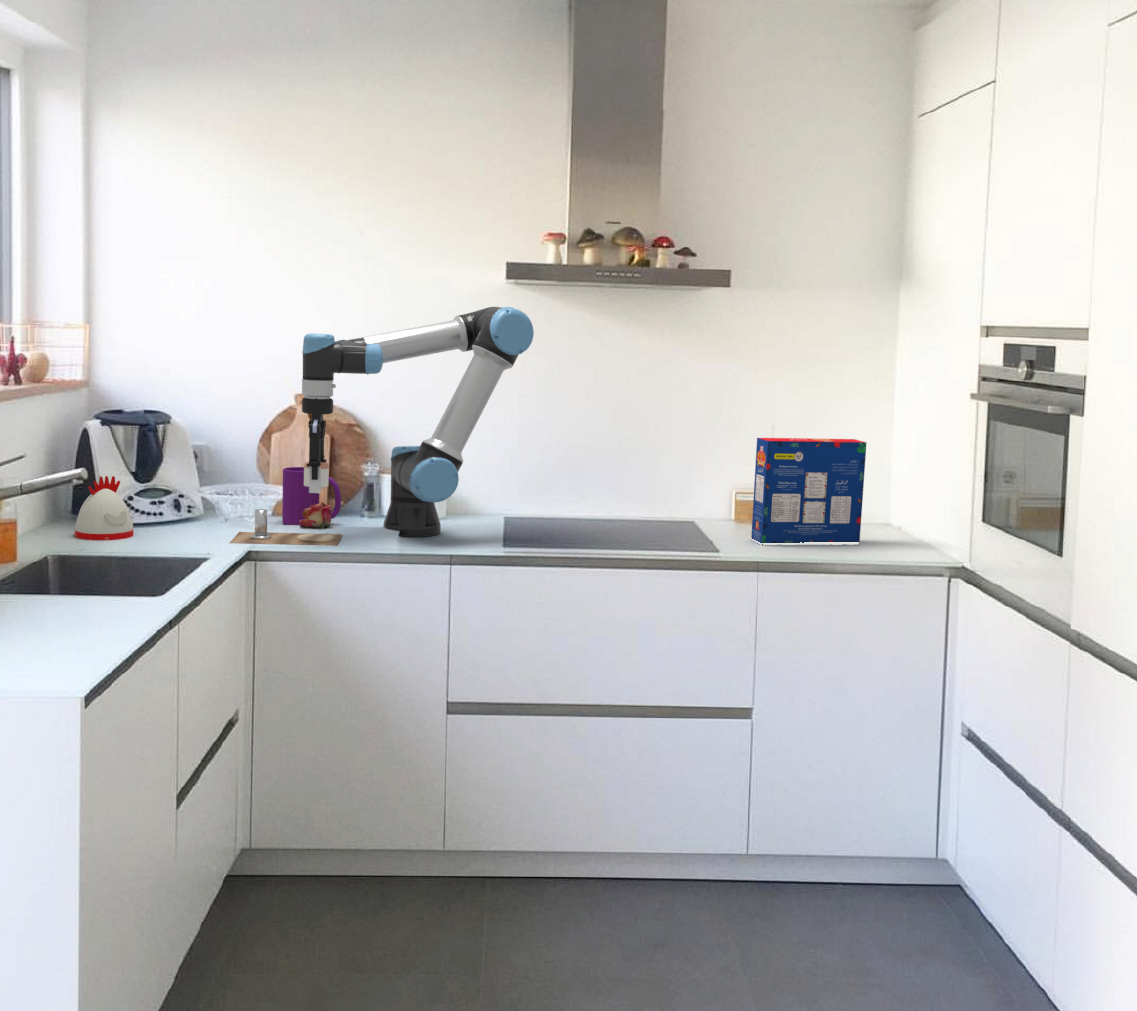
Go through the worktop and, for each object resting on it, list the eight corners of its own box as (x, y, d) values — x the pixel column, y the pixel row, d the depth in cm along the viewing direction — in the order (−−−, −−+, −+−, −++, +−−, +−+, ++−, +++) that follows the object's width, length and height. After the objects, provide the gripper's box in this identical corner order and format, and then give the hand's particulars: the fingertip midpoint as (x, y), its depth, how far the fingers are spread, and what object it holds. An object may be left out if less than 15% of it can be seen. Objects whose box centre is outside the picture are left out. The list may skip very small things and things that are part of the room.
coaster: (336, 536, 352) (336, 534, 352) (332, 542, 343) (332, 540, 343) (299, 535, 351) (299, 533, 351) (295, 541, 342) (295, 539, 342)
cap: (327, 487, 342) (327, 465, 342) (302, 486, 342) (302, 464, 341) (329, 484, 348) (329, 462, 347) (305, 483, 348) (305, 461, 347)
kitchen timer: (143, 537, 350) (143, 477, 348) (92, 542, 340) (92, 481, 338) (115, 529, 359) (115, 471, 357) (64, 534, 349) (64, 474, 347)
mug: (283, 521, 381) (284, 466, 379) (341, 522, 383) (342, 467, 381) (280, 526, 372) (281, 470, 370) (340, 527, 374) (340, 472, 372)
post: (272, 536, 349) (272, 508, 348) (269, 539, 344) (270, 511, 343) (252, 535, 348) (252, 508, 347) (249, 539, 343) (249, 511, 342)
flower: (346, 526, 366) (335, 499, 369) (326, 523, 358) (315, 496, 360) (318, 543, 370) (307, 517, 372) (298, 541, 361) (287, 514, 363)
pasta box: (847, 540, 385) (853, 439, 381) (859, 545, 378) (866, 442, 374) (751, 540, 379) (757, 437, 375) (761, 545, 371) (767, 440, 367)
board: (343, 540, 356) (343, 534, 355) (337, 551, 340) (337, 545, 340) (239, 537, 353) (239, 531, 353) (229, 549, 338) (229, 543, 337)
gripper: (329, 400, 333) (328, 496, 336) (336, 395, 351) (334, 486, 355) (297, 399, 332) (296, 495, 336) (306, 393, 351) (304, 485, 354)
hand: (316, 490), depth 345 cm, fingers closed on cap, 6 cm apart
